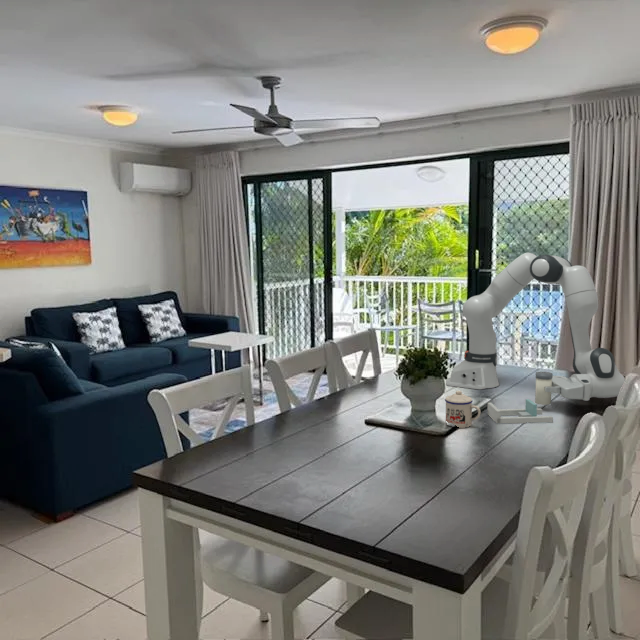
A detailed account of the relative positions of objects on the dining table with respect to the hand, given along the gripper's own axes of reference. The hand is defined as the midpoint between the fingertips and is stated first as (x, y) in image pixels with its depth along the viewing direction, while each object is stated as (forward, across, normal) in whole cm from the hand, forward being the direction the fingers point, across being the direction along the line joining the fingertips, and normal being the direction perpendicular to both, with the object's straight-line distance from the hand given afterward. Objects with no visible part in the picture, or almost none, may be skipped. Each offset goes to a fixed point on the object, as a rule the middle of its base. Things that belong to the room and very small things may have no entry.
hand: (541, 386), depth 221 cm
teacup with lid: (+33, +16, +9) cm, 38 cm away
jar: (-1, 0, +6) cm, 6 cm away
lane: (+11, +10, +8) cm, 17 cm away
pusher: (+9, +10, +8) cm, 16 cm away
